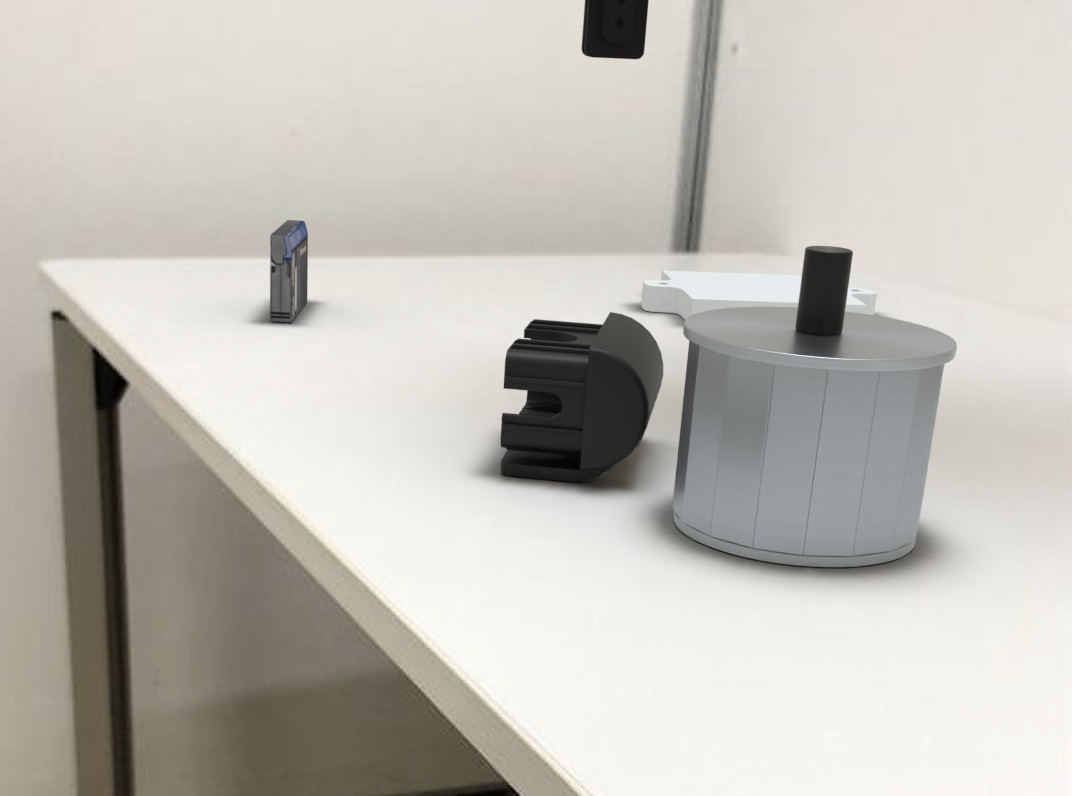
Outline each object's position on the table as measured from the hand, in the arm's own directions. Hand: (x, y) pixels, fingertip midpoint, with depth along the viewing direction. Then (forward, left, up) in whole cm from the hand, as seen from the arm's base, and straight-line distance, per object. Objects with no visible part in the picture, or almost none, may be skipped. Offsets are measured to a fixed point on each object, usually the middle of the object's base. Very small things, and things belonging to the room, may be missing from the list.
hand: (612, 56), depth 88 cm
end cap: (+2, +13, -19) cm, 23 cm away
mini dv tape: (+18, -25, -19) cm, 36 cm away
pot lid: (-6, +24, -11) cm, 27 cm away
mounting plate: (-18, -31, -19) cm, 41 cm away
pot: (-6, +24, -19) cm, 31 cm away
